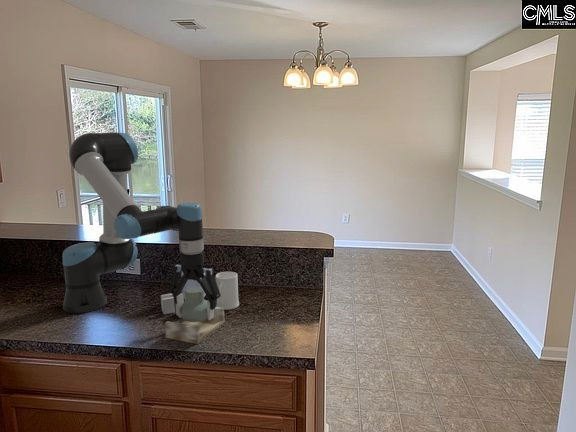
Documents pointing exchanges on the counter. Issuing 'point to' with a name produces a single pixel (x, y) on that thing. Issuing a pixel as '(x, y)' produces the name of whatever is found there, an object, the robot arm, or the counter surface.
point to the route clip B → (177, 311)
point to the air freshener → (194, 305)
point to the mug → (227, 290)
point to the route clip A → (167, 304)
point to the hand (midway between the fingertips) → (195, 315)
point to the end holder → (195, 328)
